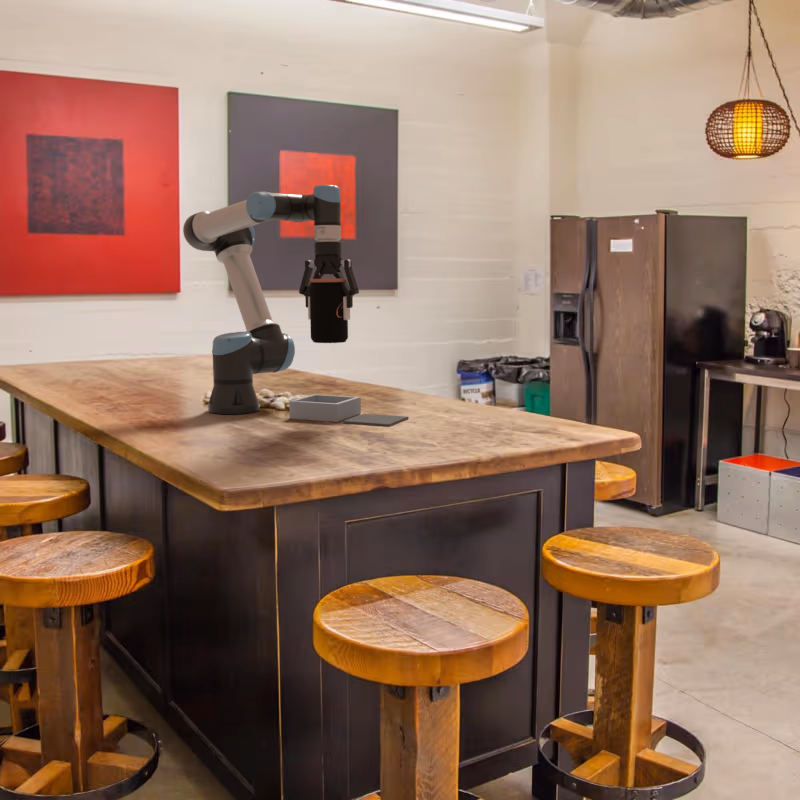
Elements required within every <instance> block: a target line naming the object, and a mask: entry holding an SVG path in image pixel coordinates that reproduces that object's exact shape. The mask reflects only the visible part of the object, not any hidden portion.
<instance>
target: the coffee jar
mask: <svg viewBox="0 0 800 800" xmlns="http://www.w3.org/2000/svg"><path fill="white" fill-rule="evenodd" d="M310 282H311V287H310V319H309V320H310V324H309V325H310V339H311V341H312V342H313V343H315V344H340V343H346V342H347V340H348V339H349V320H344V311H343V297H346V296H345V293H344V291H343V287H342V286H341V283H342V282H347V283H348V280H347V278H345V279H336V278H321V279H313V278H310ZM310 282H309V283H310Z"/></svg>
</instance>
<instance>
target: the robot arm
mask: <svg viewBox="0 0 800 800" xmlns="http://www.w3.org/2000/svg"><path fill="white" fill-rule="evenodd" d="M340 190H341V189H340V187H339V186H337V185H335V184H334V185H333V184H317V185H315V186H314V187H313V192H312V194H311V193H310V194H309V193H308V194H293V193H281V192H268V191H264V190H262V191H254V192H252V193H251V192H250V194H249V196H248V197H247V199H245V200H242V201H240V202H236V203H233V204H230V205H228V206H225V207H221V208H219V209H215V210H213V211H211V212H210V211H206V210H203V211H199V212H196V213H193V214H192V215H190V216H188V217H187V218H186V220H185V222H183V223H184V224H183V227H182V228H183V229H182V230H183V232H182V233H183V236H184V239H185V241H186V242H187V243H188V245H189V246H191V247H192V248H194V249H196V250H198V251H203V252H214V253H215V257H216V259H217V261H218V262H219V263H221V264H223V265H224V268H225V271H226V275H227V276H228V280H229V282H230V286H231V288H232V291H233V294H234V298H235V301H236V303H237V305H238V309H239V313H240V315H241V317H242V318H241V319H242V321H243V324H244V327H245V330H246V331H235V332H227V333H224V334H223V333H222V334H218V335H217V336H215V337H214V339H213V340H212V349H211V354H212V371H213V372H212V377H213V378H212V379H213V386H212V391H211V394H210V397H209V401H208V404H207V405H208V406H207V409H208V412H209V413H211V414H218V415H243V414H244V415H245V414H251V413H256V412H258V411H260V402H259V398H258V396H257V394H256V390H255V388H254V383H253V381H254V379H253V377H254V375H257V374H258V375H259V374H266V373H267V374H268V373H273V374H274V373H278V372H283V371H285V370H288V369H289V367H290V366H291V365H292V363H293V362H294V357H295V353H296V352H295V351H296V349H295V348H296V346H295V342H294V340H293V338H292V336H290V335H289V334H287V333H283V332H282V329H281V326H280V324H279V323H276V322H275V321H273V319H272V316H271V312H270V310H269V307H268V305H267V301H266V298H265V295H264V293H263V292H264V291H263V290H262V287H261V284H260V281H259V277H258V275H257V273H256V269H255V267H254V264H253V260H252V258H251V254H252V252H253V247H254V245H255V241H256V239H255V237H256V234H255V229H254V227H253V226H256V225H259V224H263V223H266V222H269V221H285V222H287V221H288V222H292V223H304V222H313V226H314V230H313V233H314V235H313V236H314V240H315V242H314V256H315V257H314V260H312V259H311V260H310V259H309V260H307V259H306V260H305V261H304V272H303V275H302V279H301V283H300V286H299V290H298V293H299V294H300V295H302V296H305V307H306V308H307V311H308V312H307V313H308V314H307V316H308V317H307V319H308V320H310V287H311V282H310V279H322V277H324V275H333V276H334V277H335V279H347V282H342V283H341V286H342V287H343V291H344V293H345V296H346V297H343V311H344V320H348V321H349V320H351V308H353V305H354V304H353V303H354V301H353V298H354V297H353V296H355V295H358V294H359V293H360V290H359V287H358V284H357V281H356V278H355V277H356V276H355V274H354V271H353V268H352V267H353V265H352V264H353V262H352V260H351V259H342V243H341V242H340V241H341V239H342V231H341V229H342V228H341V223H342V221H341V220H342V216H341V213H342V211H341V209H342V208H341V207H342V205H341V204H342V203H341V202H342V200H341V191H340ZM341 266H342V267H343V269H344V270H343V271H344V273H345V276H346V278H345V277H344V275H343V272H342V270H341ZM314 267H316V269H315V272H314V273H313V269H314ZM312 274H313V276H312ZM311 277H312V278H311Z"/></svg>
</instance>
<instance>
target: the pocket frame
mask: <svg viewBox="0 0 800 800" xmlns="http://www.w3.org/2000/svg"><path fill="white" fill-rule="evenodd" d="M361 400H362V397H361V396H350V395H349V396H348V395H333V394H316V393H314V394H310V395H306V396H303V397H299V398H296V399H292V400H289V401H288V403H289V405H288V406H289V407H288V408H289V416H288V417H289V419H293V420H294V419H295V420H306V421H307V420H310V421H320V422H321V421H322V422H323V421H324V422H335V423H338V422H341V421H342V422H343V421H344V420H347V419H350V418H353V417H356V416H359V415H362V414H361V413H362V412H361V411H362V410H361V409H362V408H361V407H362V405H361V404H362V401H361Z"/></svg>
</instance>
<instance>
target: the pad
mask: <svg viewBox="0 0 800 800" xmlns="http://www.w3.org/2000/svg"><path fill="white" fill-rule="evenodd" d="M408 419H409V416H405V415H402V416H401V415H393V414H392V415H391V414H388V415H387V414H377V413H362V414H359V415H356V416H353V417H350V418H347V419H344V420H342V424H350V425H351V424H352V425H362V426H364V425H366V426H378V427H391V425H392V426H394V425H396V423H397V424H399V423H402V422H403V421H406V420H408Z"/></svg>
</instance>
